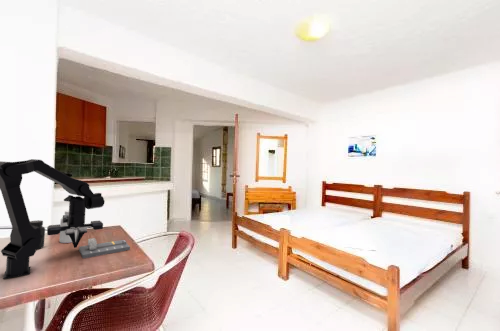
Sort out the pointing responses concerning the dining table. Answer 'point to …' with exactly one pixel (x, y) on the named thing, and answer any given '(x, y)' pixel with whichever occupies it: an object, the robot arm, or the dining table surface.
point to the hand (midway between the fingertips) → (75, 247)
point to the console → (104, 248)
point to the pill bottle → (63, 236)
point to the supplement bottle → (39, 224)
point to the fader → (92, 243)
